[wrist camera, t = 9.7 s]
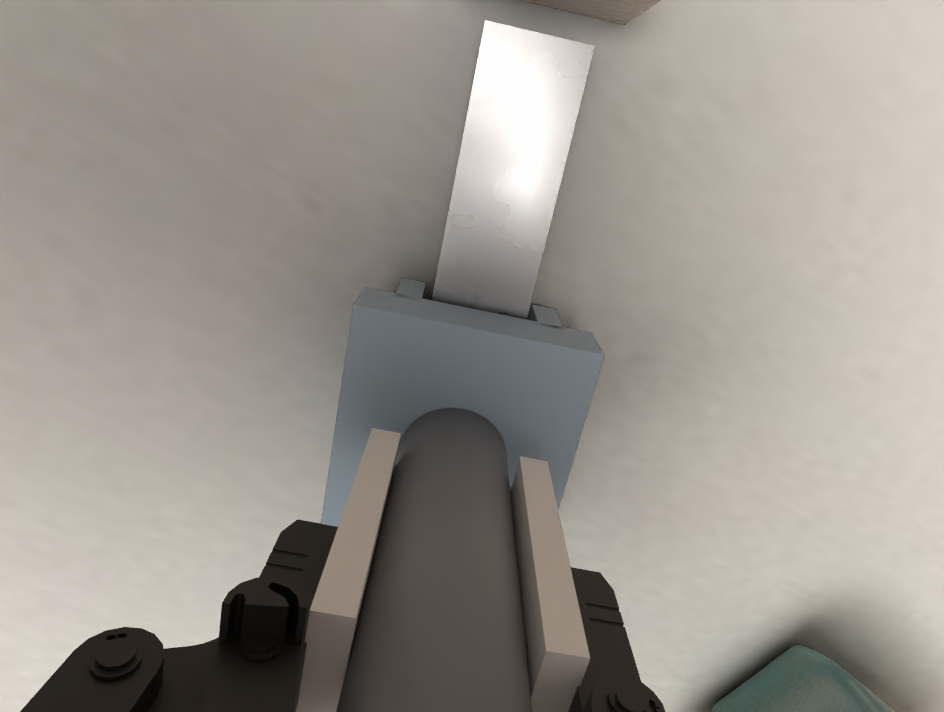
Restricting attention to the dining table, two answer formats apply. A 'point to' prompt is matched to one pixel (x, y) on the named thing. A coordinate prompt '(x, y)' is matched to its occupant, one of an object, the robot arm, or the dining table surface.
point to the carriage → (451, 490)
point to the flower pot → (802, 687)
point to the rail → (515, 159)
